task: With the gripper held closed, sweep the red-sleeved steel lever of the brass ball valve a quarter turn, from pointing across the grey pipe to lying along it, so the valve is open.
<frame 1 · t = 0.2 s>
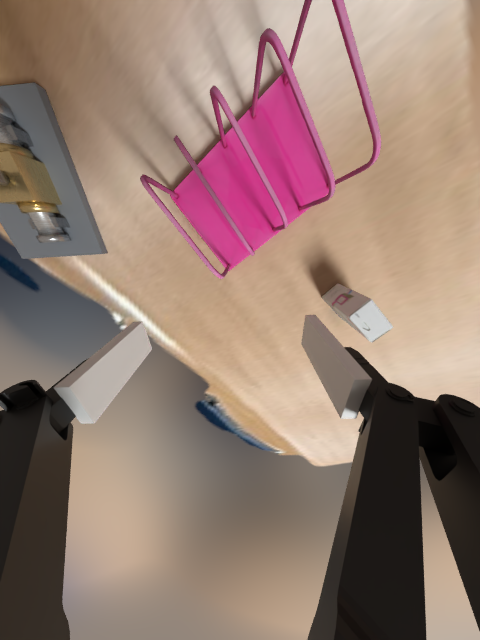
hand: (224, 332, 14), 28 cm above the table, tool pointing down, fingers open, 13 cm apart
valve pipe: (46, 188, 33), resting on mounting board
mounting board: (36, 188, 33), on the table
file sorter: (251, 193, 33), on the table
ink box: (339, 300, 42), on the table
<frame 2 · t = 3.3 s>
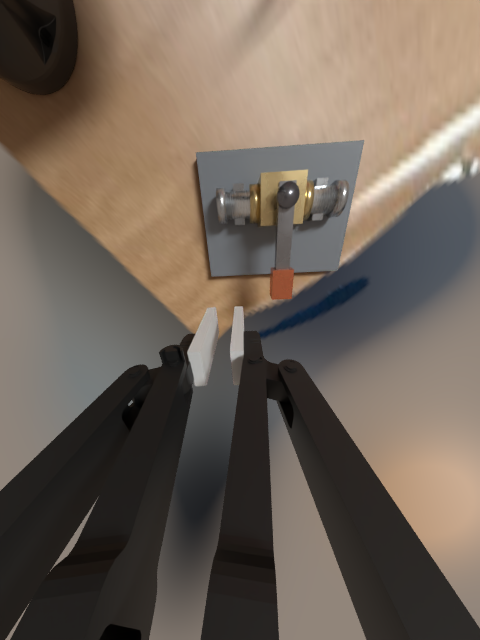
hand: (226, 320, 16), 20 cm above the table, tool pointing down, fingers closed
valve pipe: (274, 206, 29), resting on mounting board
mounting board: (274, 219, 30), on the table
valve lever: (282, 247, 24), point 8 cm above the table, hinge at -90.0°
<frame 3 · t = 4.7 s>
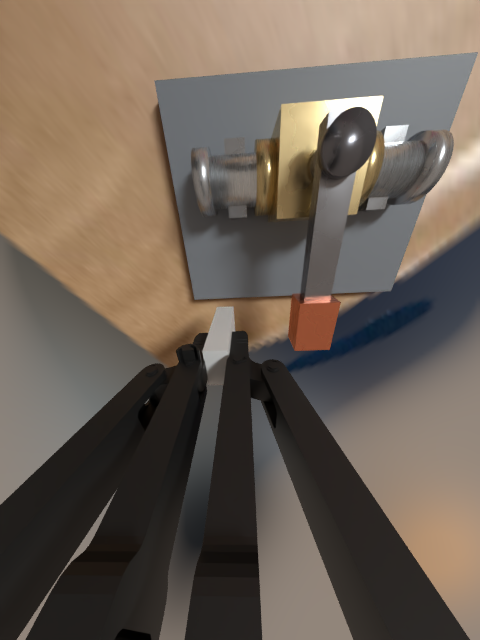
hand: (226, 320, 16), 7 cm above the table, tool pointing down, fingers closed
valve pipe: (296, 187, 17), resting on mounting board
mounting board: (294, 210, 18), on the table
valve lever: (319, 259, 13), point 8 cm above the table, hinge at -90.0°
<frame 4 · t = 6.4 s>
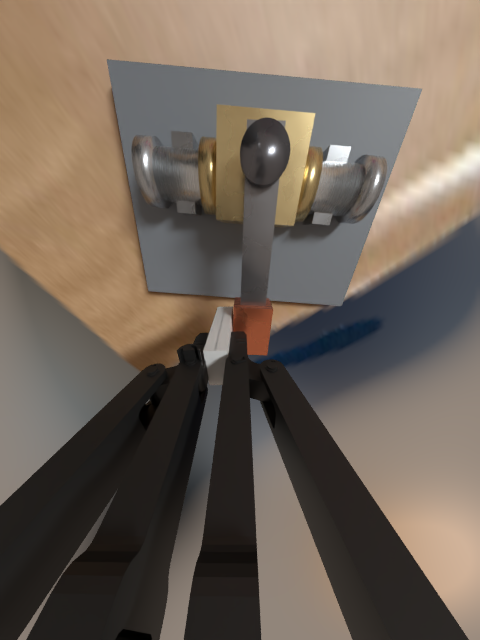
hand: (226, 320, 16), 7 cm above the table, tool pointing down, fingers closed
valve pipe: (254, 192, 17), resting on mounting board
mounting board: (252, 214, 18), on the table
valve lever: (255, 265, 13), point 8 cm above the table, hinge at -87.6°, touching gripper
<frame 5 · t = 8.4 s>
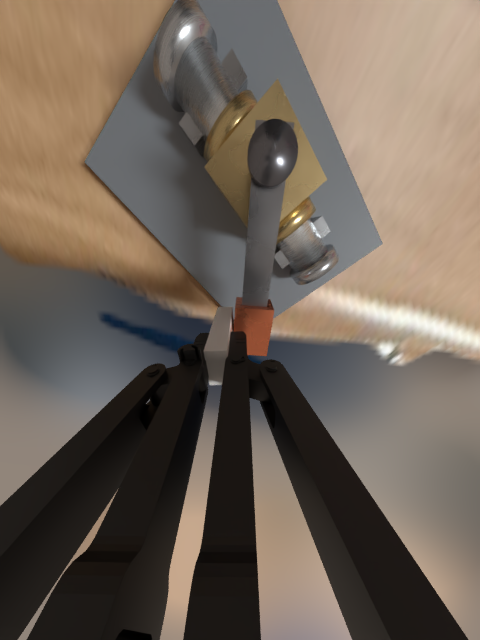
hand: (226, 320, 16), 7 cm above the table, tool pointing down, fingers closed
valve pipe: (259, 192, 17), resting on mounting board
mounting board: (244, 207, 18), on the table
valve lever: (257, 265, 13), point 8 cm above the table, hinge at -43.7°, touching gripper
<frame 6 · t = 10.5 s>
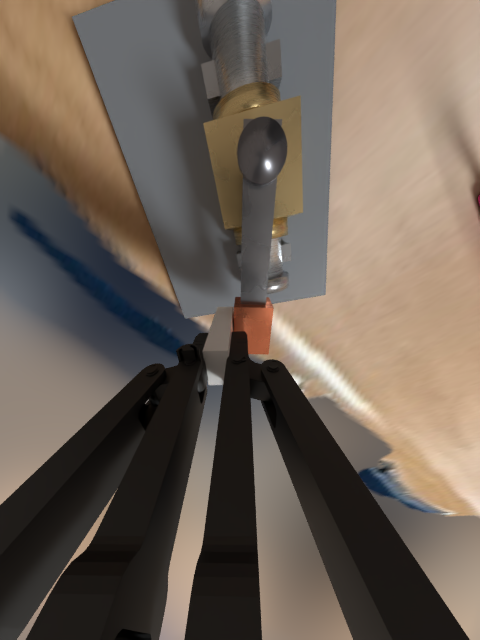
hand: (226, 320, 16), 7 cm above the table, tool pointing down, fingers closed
valve pipe: (252, 191, 18), resting on mounting board
mounting board: (233, 196, 18), on the table
valve lever: (254, 264, 13), point 8 cm above the table, hinge at -11.6°, touching gripper
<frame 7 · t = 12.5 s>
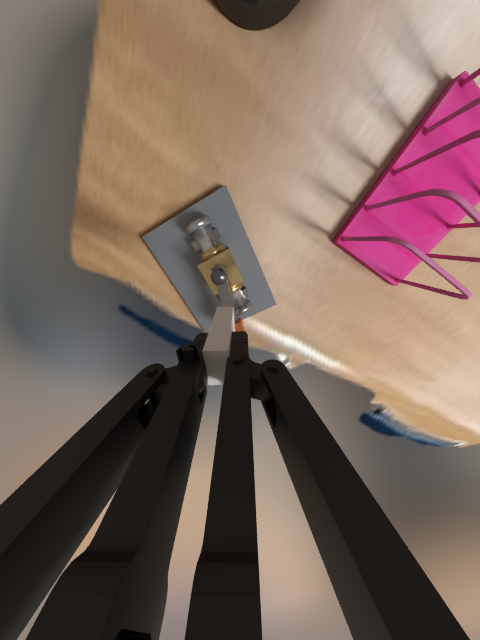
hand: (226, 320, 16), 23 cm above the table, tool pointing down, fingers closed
valve pipe: (223, 268, 36), resting on mounting board
mounting board: (215, 272, 37), on the table
valve lever: (229, 306, 31), point 8 cm above the table, hinge at -11.6°
file sorter: (413, 203, 32), on the table
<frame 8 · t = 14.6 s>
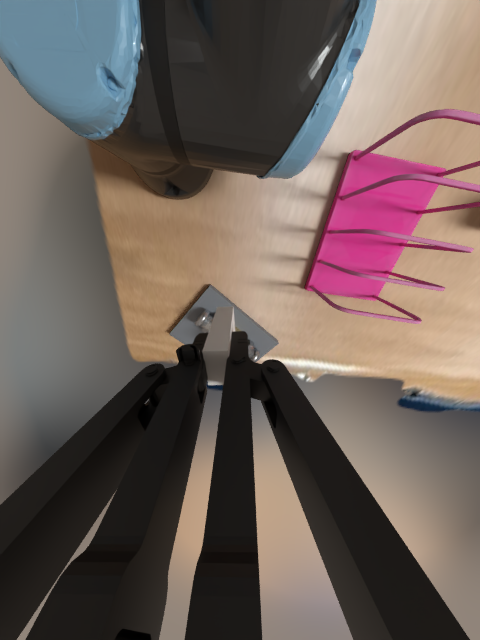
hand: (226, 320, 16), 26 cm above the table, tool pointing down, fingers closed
valve pipe: (229, 331, 47), resting on mounting board
mounting board: (224, 335, 48), on the table
file sorter: (360, 238, 37), on the table
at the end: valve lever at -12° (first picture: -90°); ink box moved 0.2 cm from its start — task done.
